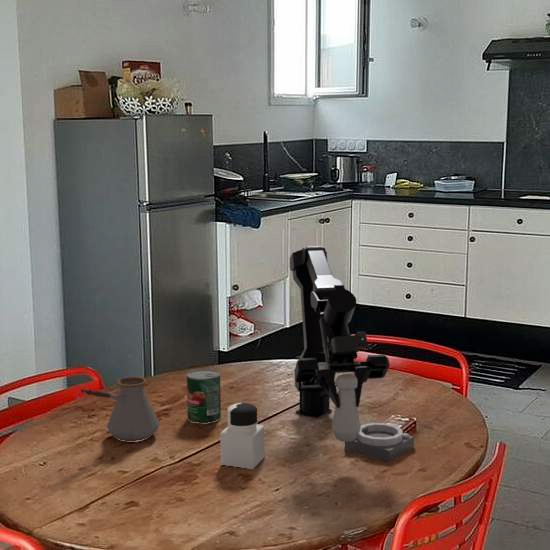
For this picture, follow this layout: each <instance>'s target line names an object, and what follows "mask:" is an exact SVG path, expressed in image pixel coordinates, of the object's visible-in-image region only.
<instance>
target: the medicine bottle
mask: <svg viewBox="0 0 550 550" xmlns="http://www.w3.org/2000/svg"><path fill="white" fill-rule="evenodd" d="M219 435H220V437H219V439H220V441H219V442H220V446H219V447H220V465H221V466H222V465H226V466H225V467H228V466H234V467H233V468H236V467H241V468H240V469H243V468H247V469H246V470H251V469H253V470H254V469H255V468H256V467H257V465H259V464H260V463H261V462H262V460H263V459H264V458H265V457H266V455H265V453H266V451H265V447H266V446H265V442H266V441H265V425H264V424H258V408H257V407H256V405H254V404H251V403H248V402H238V403H234V404H231V405H229V406H228V407H227V426H226V427H225V429H223V430H221V432H220V433H219Z"/></svg>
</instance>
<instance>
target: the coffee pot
mask: <svg viewBox="0 0 550 550" xmlns="http://www.w3.org/2000/svg"><path fill="white" fill-rule="evenodd" d="M146 383H147V379H146V378H144V377H140V376H139V377H138V376H130V377H129V376H127V377H122V378H119V379H117V381H116V384H117V386H118V387H119V393H118V394H113V393H108V392H105V391H101V390H92V389H90V388H89V389H86V388H84V389H81V390H79V391H78V392H77V393H76V397H77V399H79V400H84V399H85V397H86V394H87V395H88V396H90V395H92V396H94V397H96V398H99V397H100V398H108V399H109V398H110V399H115V400H116V401H115V404H114V407H112V411H111V414H110V416H109V419H108V421H107V424H106V428H107V430H108V432H109V434H110V435H111V436H113V438H115V439H116V438H118V439H120V440H125V441H136V440H142V439H145V438H148V437H149V436H151V437H152V436H153V435H154V434H155V433H156V432H157V431H158V428H159V426H160V420H159V419H158V416H157V415H156V412H155V410H154V408H153V406H152V404H151V402H150V400H149V398H148V396H147V394H146V391H145V390H144V388H145V384H146ZM80 392H81V393H82V394H84V396H83V397H82V398H80V397H79V396H78V395H79V393H80Z"/></svg>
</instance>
